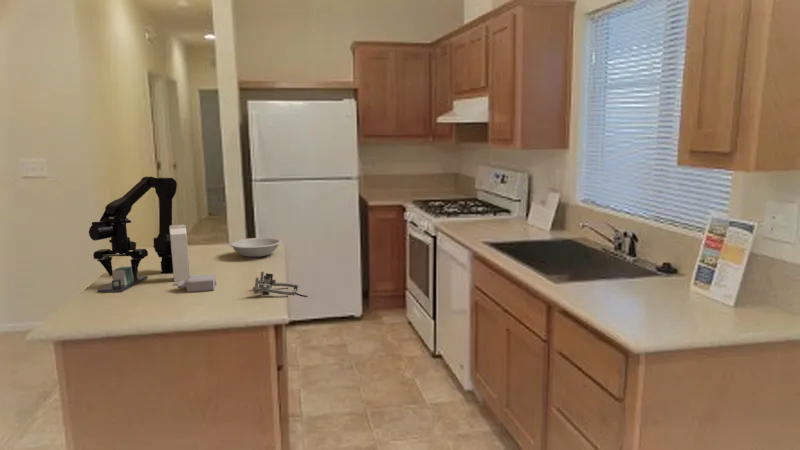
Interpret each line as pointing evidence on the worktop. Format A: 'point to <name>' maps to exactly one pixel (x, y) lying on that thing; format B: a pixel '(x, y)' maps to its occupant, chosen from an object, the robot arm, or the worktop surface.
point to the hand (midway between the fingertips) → (123, 275)
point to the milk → (179, 252)
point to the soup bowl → (255, 246)
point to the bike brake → (269, 282)
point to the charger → (198, 283)
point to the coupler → (123, 274)
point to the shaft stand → (119, 287)
